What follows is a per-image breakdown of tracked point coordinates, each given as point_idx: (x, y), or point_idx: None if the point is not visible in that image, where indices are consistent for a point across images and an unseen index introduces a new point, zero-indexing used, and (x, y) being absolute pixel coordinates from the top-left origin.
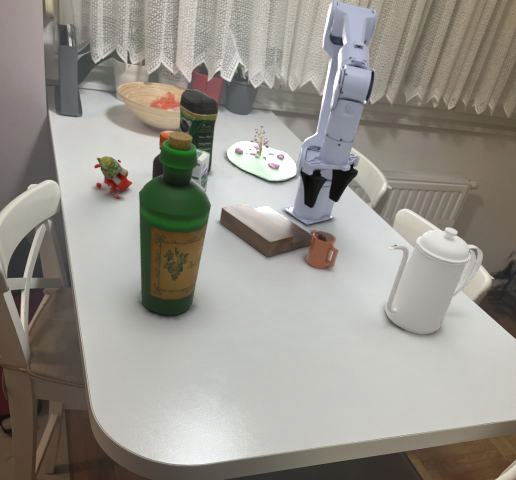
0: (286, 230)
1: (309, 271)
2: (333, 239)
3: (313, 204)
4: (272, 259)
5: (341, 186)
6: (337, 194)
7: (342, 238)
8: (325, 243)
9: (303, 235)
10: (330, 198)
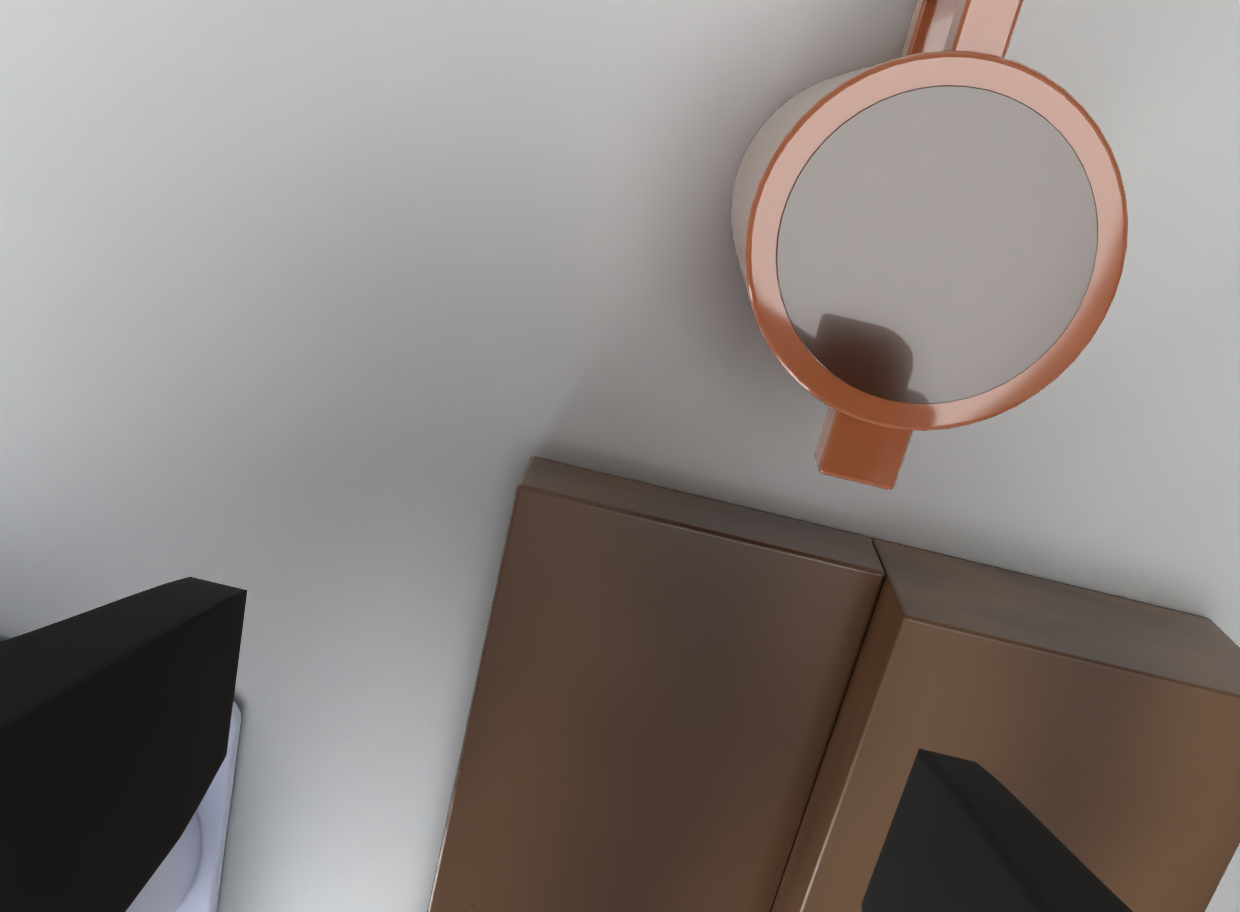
0: (682, 755)
1: (1130, 161)
2: (902, 101)
3: (997, 791)
4: (1202, 561)
5: (7, 787)
6: (159, 688)
7: (92, 300)
8: (1099, 135)
9: (614, 584)
10: (225, 729)
